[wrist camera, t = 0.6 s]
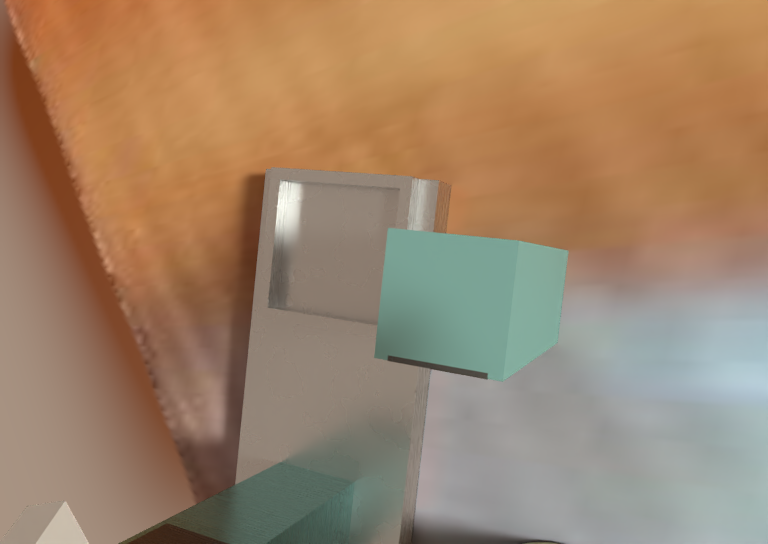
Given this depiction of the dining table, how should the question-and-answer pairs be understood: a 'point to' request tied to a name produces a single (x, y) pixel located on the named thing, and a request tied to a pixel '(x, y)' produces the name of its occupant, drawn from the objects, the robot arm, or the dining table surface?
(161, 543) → the grey base with post
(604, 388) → the dining table surface
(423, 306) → the mint green block
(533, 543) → the coffee can
